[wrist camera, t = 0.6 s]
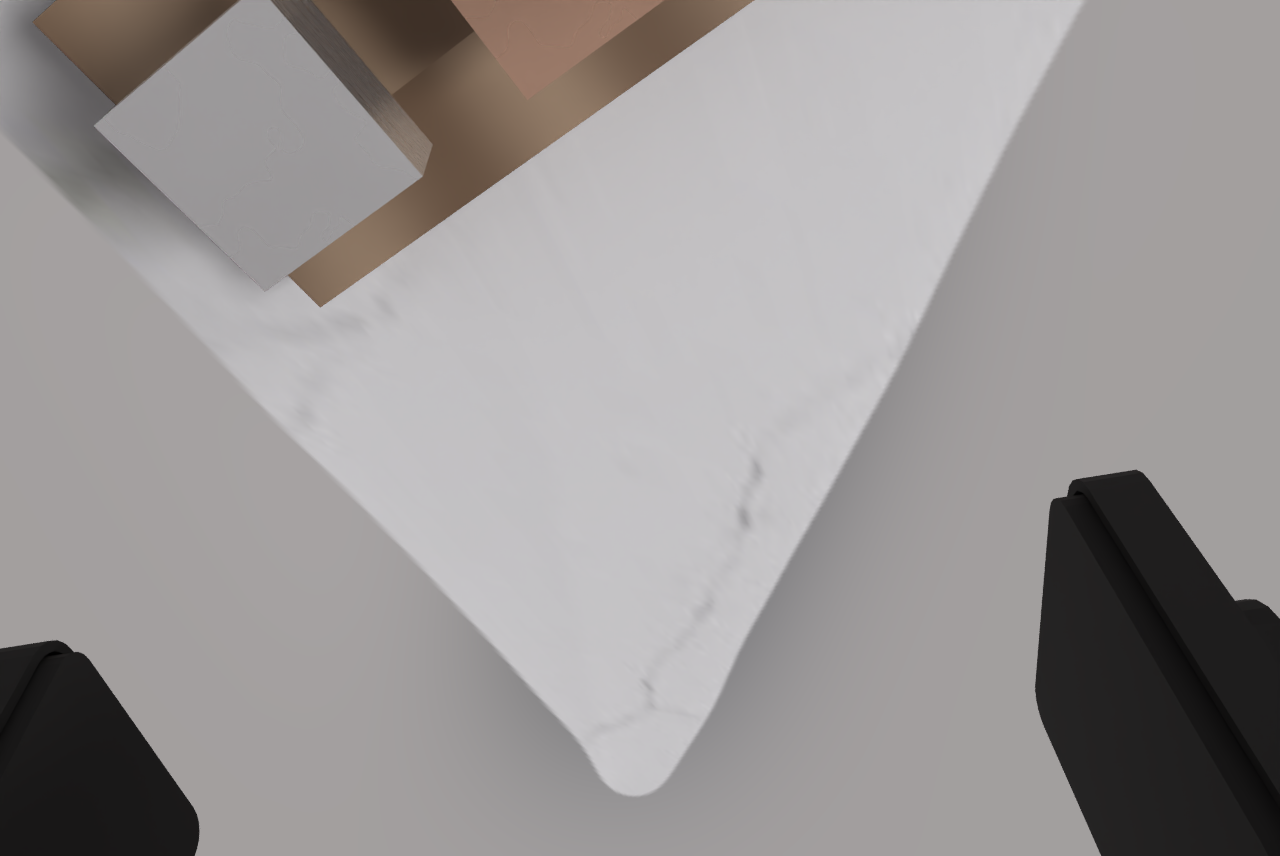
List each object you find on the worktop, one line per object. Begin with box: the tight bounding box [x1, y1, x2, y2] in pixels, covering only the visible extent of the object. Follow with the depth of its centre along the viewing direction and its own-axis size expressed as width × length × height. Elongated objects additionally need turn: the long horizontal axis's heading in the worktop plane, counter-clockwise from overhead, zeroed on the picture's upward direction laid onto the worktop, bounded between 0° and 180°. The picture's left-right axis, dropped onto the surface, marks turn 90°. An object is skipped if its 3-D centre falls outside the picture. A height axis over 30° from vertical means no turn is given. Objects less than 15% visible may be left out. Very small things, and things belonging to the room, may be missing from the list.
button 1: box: [94, 0, 433, 291], centre depth 26 cm, size 5×5×6 cm
